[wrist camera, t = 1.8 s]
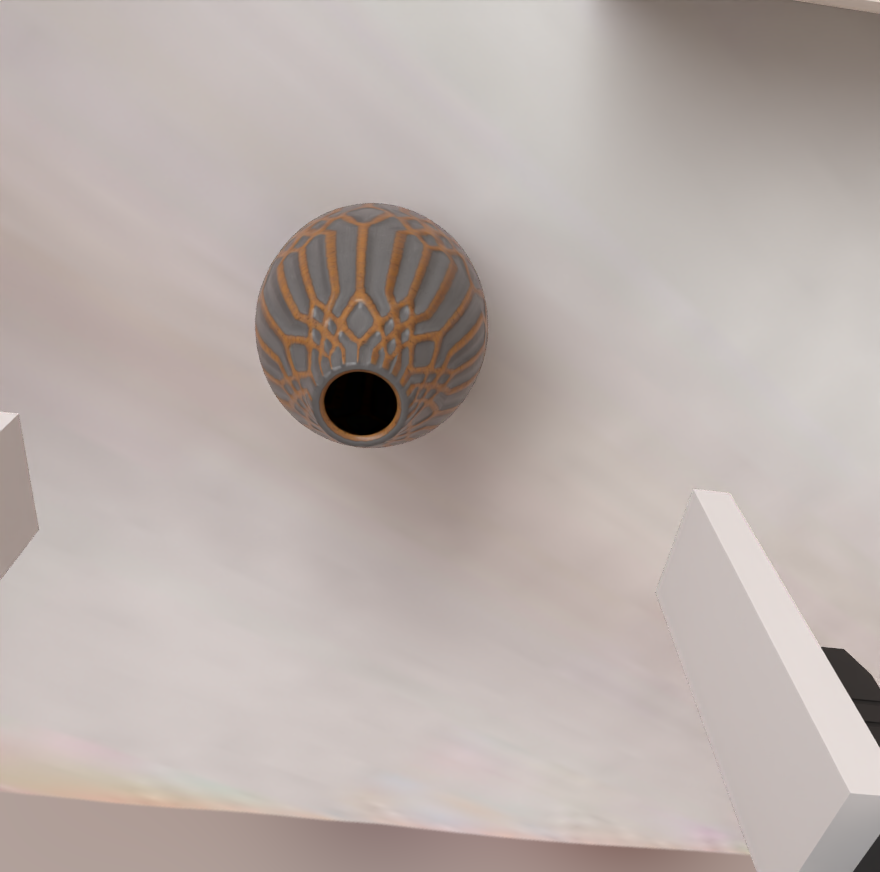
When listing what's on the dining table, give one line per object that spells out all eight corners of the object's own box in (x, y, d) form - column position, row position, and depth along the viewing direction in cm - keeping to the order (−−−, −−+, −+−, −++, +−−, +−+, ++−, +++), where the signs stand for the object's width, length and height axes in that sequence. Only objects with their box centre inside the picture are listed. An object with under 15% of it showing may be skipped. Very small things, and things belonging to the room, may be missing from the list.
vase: (515, 318, 26) (550, 449, 19) (352, 406, 28) (324, 557, 21) (414, 139, 23) (407, 209, 16) (237, 250, 25) (155, 361, 17)
